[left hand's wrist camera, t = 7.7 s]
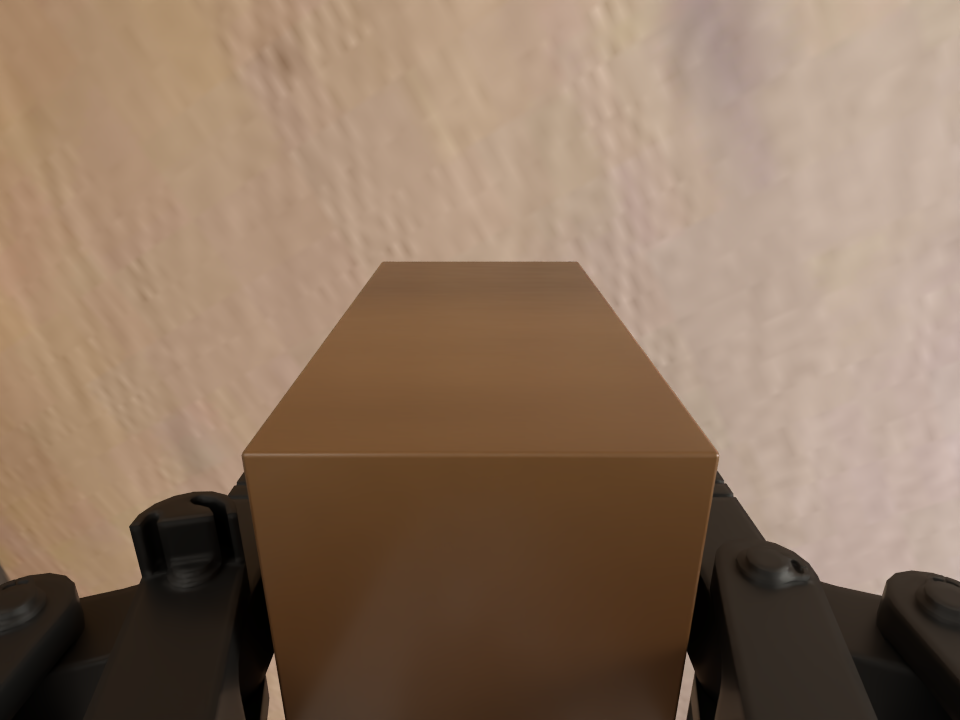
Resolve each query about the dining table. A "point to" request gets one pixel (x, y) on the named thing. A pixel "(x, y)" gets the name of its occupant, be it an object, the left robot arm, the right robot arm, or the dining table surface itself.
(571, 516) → the bar
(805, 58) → the dining table surface
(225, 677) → the left robot arm
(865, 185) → the dining table surface
